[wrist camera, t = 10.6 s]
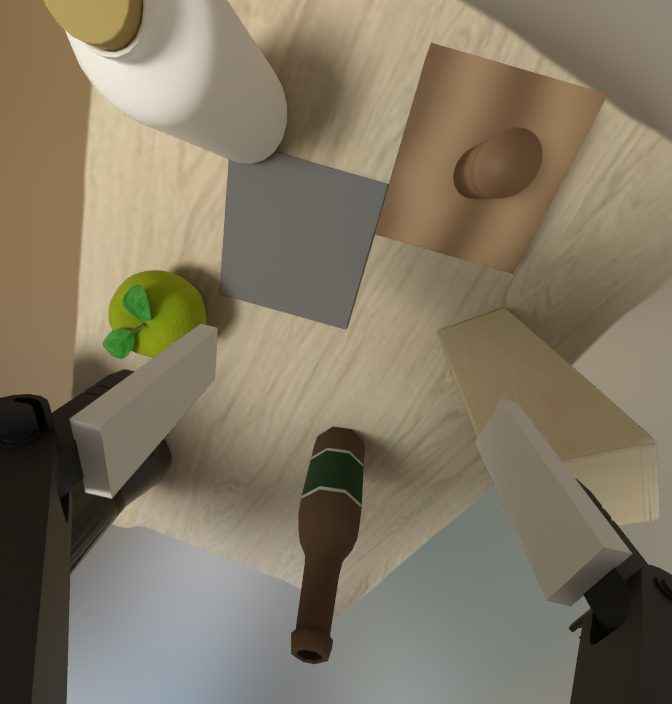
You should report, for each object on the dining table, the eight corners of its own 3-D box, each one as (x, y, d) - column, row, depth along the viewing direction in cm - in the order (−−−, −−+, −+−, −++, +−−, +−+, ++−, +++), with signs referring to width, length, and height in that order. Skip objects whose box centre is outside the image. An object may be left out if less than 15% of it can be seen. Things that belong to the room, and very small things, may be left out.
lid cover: (374, 231, 27) (374, 243, 20) (425, 58, 22) (451, -17, 14) (502, 267, 27) (550, 293, 20) (584, 105, 22) (694, 54, 14)
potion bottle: (207, 44, 27) (-50, -227, 10) (298, 71, 27) (184, -157, 10) (201, 152, 30) (2, 77, 14) (281, 175, 30) (177, 127, 14)
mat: (220, 293, 37) (219, 294, 37) (231, 140, 30) (230, 139, 29) (346, 328, 37) (345, 329, 37) (387, 184, 30) (387, 184, 30)
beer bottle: (356, 420, 44) (339, 632, 22) (371, 460, 47) (368, 679, 25) (307, 430, 45) (247, 634, 24) (324, 467, 48) (284, 676, 27)
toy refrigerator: (451, 380, 39) (521, 546, 20) (434, 331, 36) (497, 470, 17) (517, 360, 37) (665, 527, 18) (505, 306, 34) (663, 437, 15)
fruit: (139, 303, 39) (70, 334, 30) (171, 248, 35) (102, 264, 26) (199, 348, 41) (150, 389, 32) (235, 300, 37) (191, 332, 29)
